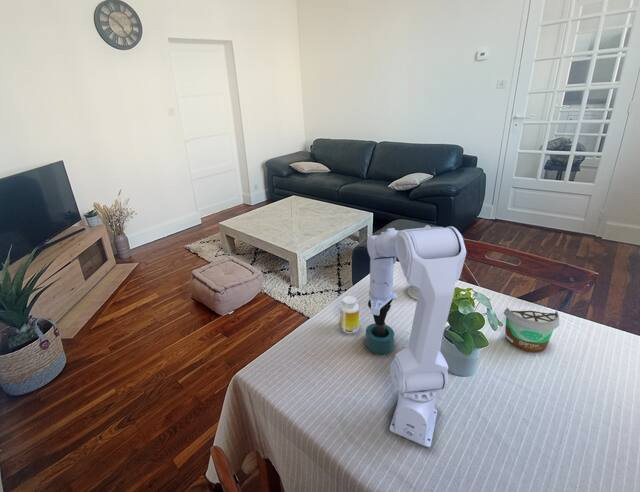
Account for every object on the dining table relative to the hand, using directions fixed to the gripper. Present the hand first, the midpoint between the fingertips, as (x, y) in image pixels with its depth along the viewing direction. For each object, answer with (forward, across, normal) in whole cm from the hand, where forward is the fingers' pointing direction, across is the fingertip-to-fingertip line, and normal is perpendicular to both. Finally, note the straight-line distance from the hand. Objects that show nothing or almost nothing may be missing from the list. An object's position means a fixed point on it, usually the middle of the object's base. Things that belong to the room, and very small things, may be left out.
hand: (380, 321), depth 91 cm
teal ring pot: (+8, 0, 0) cm, 8 cm away
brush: (+3, 0, 0) cm, 3 cm away
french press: (-5, +30, -9) cm, 31 cm away
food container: (+8, +13, -36) cm, 39 cm away
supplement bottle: (+8, +4, +10) cm, 13 cm away
